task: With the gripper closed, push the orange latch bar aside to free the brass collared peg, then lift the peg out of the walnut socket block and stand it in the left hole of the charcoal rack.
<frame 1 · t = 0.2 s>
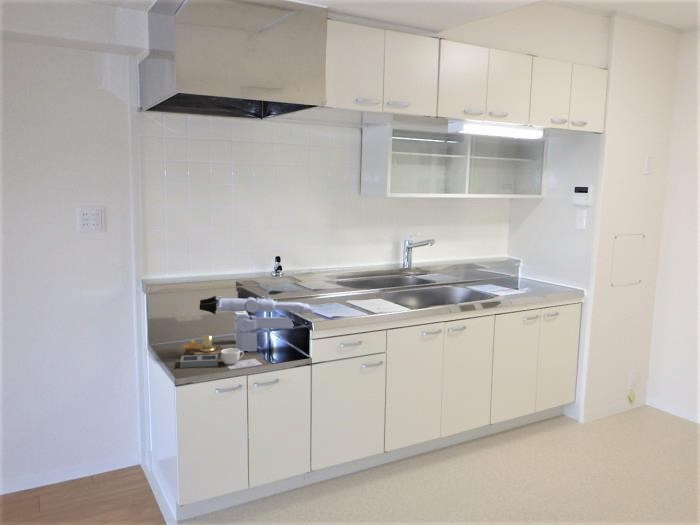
hand: (199, 304, 255), 21 cm above the counter, tool horizontal, fingers open, 7 cm apart
socket block: (207, 355, 253), on the counter
rack: (199, 363, 241), on the counter
latch bar: (192, 344, 250), point 5 cm above the counter, slide at 0.0 cm
syrup box: (241, 342, 275), on the counter
teacup: (232, 363, 244), on the counter
brass peg: (207, 355, 253), resting in socket block
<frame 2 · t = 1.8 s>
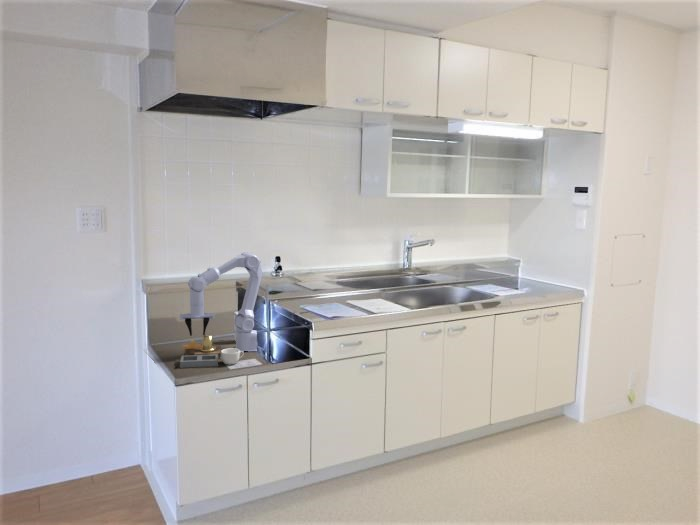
hand: (197, 335, 250), 9 cm above the counter, tool pointing down, fingers open, 5 cm apart
nothing on the counter moved.
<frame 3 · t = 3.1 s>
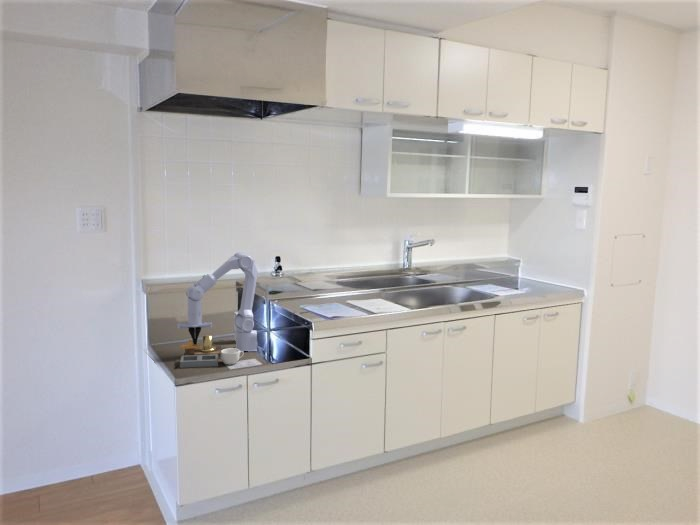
hand: (195, 344, 251), 5 cm above the counter, tool pointing down, fingers closed
latch bar: (190, 344, 250), point 5 cm above the counter, slide at 0.8 cm, touching gripper
everything else where it was.
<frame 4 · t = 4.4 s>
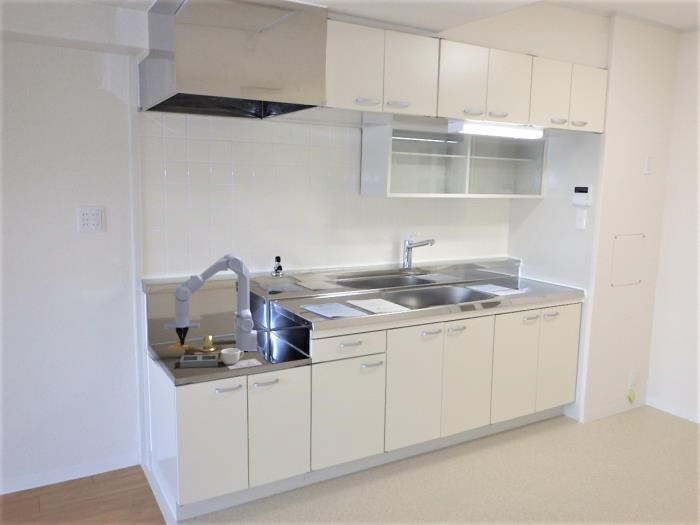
hand: (182, 344, 250), 5 cm above the counter, tool pointing down, fingers closed
latch bar: (178, 344, 249), point 5 cm above the counter, slide at 6.1 cm, touching gripper
everything else where it was.
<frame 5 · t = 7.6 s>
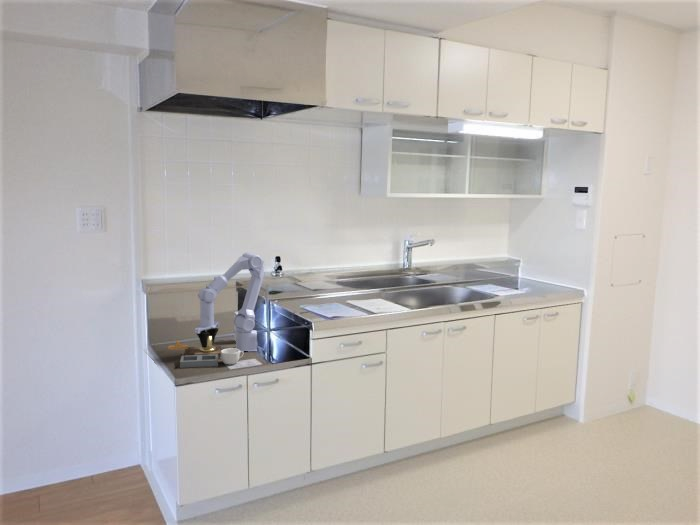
hand: (207, 345, 252), 4 cm above the counter, tool pointing down, fingers closed on brass peg, 4 cm apart
latch bar: (178, 344, 249), point 5 cm above the counter, slide at 6.1 cm
brass peg: (207, 355, 253), resting in socket block, touching gripper
everything else where it was.
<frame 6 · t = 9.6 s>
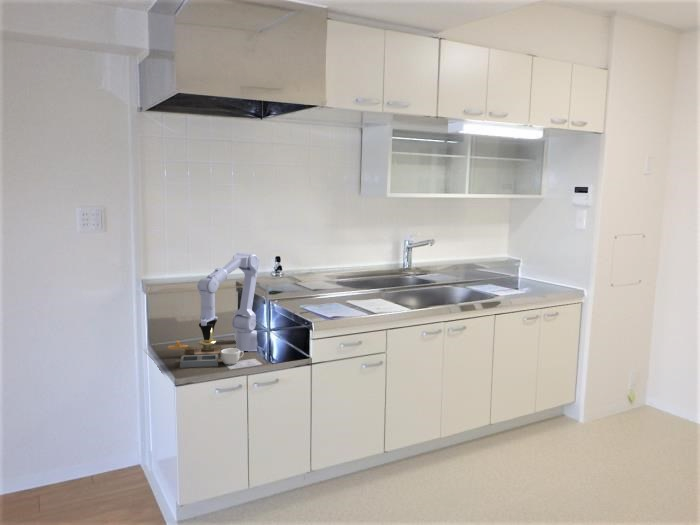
hand: (208, 338, 242), 10 cm above the counter, tool pointing down, fingers closed on brass peg, 4 cm apart
brass peg: (208, 348, 243), point 6 cm above the counter, touching gripper
everything else where it was.
when the fingers open (5 cm above the counter, at t = 11.4 s): brass peg stays where it is, resting in rack.
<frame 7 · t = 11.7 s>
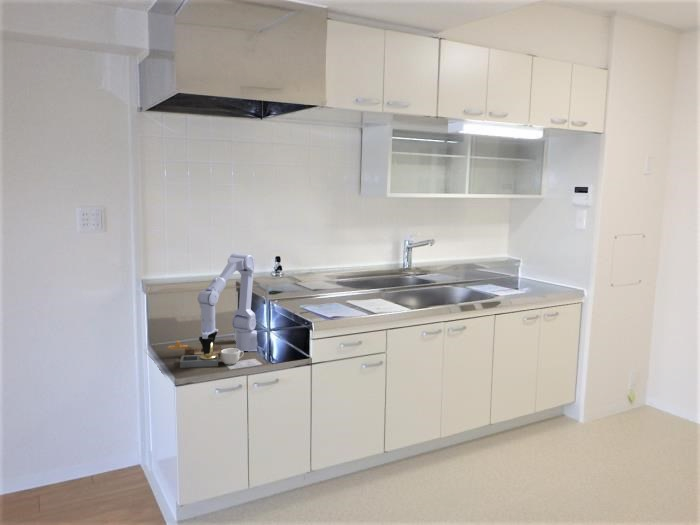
hand: (208, 350, 241), 5 cm above the counter, tool pointing down, fingers open, 7 cm apart
brass peg: (208, 363, 242), resting in rack
everything else where it was.
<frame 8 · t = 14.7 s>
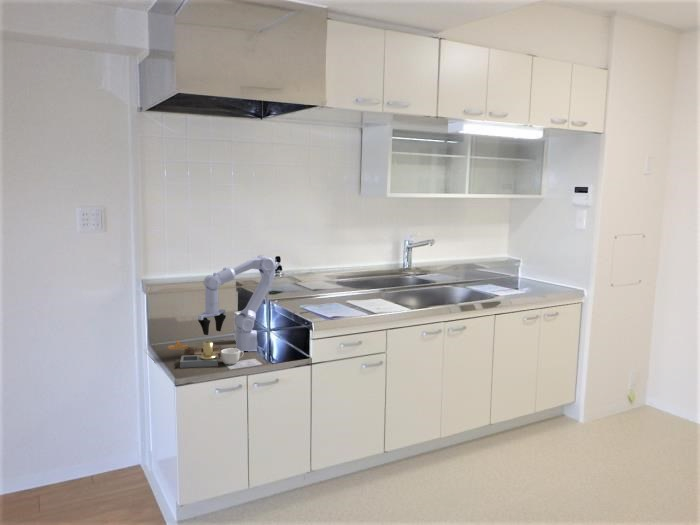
hand: (212, 332, 255), 9 cm above the counter, tool pointing down, fingers open, 7 cm apart
nothing on the counter moved.
at the end: latch bar slide at 6.1 cm; brass peg 0.2 cm from the target spot on the rack, point 0.0 cm above the rack's base; brass peg tilted 0° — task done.
